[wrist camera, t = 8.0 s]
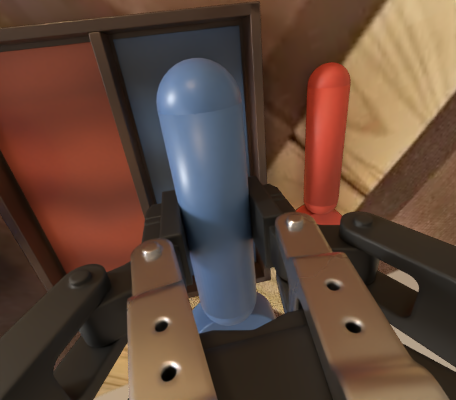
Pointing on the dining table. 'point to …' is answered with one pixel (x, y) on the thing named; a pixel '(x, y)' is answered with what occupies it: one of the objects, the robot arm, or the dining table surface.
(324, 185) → the red disc-ended rod
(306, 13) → the dining table surface
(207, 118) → the blue round-ended rod
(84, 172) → the sorting tray
